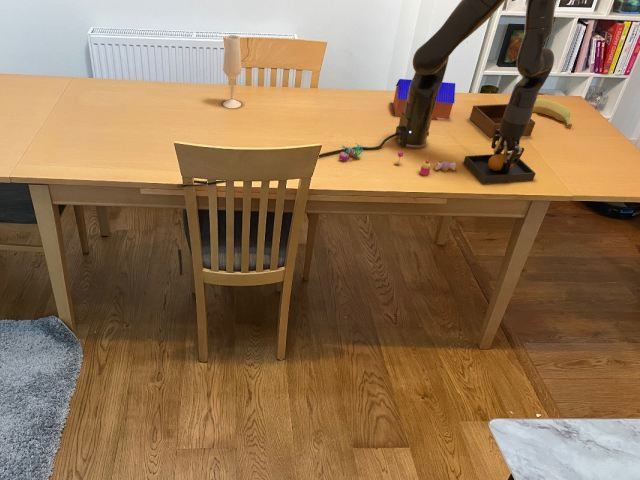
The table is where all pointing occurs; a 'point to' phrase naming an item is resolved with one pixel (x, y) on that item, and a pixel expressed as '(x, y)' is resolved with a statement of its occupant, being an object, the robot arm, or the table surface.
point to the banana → (552, 110)
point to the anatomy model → (350, 152)
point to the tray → (487, 176)
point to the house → (441, 105)
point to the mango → (497, 162)
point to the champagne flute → (232, 65)
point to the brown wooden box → (492, 118)
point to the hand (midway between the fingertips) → (499, 168)
